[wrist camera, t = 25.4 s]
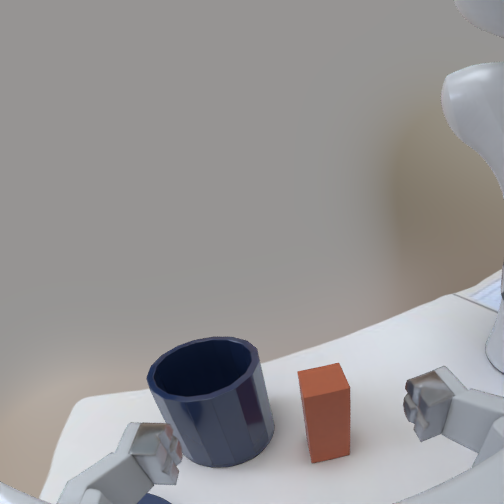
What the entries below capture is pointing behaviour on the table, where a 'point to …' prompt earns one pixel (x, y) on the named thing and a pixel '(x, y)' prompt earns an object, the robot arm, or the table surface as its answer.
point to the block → (326, 411)
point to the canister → (214, 400)
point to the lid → (152, 499)
